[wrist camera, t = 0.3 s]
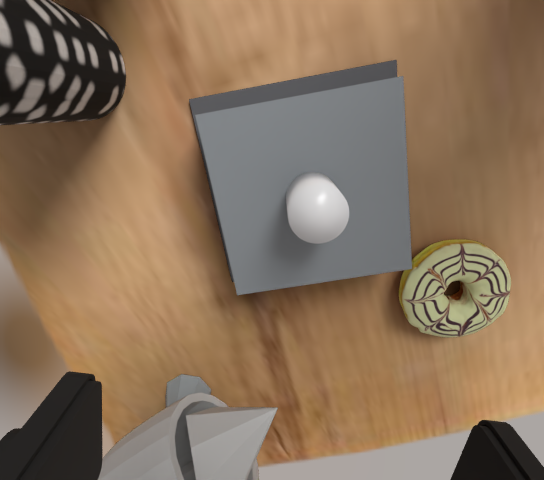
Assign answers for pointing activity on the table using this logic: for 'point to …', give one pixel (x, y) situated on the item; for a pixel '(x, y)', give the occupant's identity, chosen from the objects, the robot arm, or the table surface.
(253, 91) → the rubber mat
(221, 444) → the jet engine
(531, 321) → the table surface
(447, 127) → the table surface
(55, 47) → the spotted tube
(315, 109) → the lid
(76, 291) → the table surface
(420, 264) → the decorated donut
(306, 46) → the table surface
